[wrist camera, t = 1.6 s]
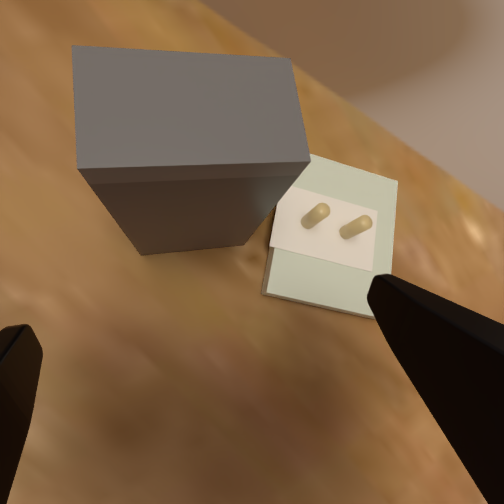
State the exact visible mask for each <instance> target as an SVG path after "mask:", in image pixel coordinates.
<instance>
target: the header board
mask: <svg viewBox="0 0 504 504" xmlns="http://www.w3.org/2000/svg"><path fill="white" fill-rule="evenodd" d="M310 158H311V162H310V163H309V165H308V166H307V167H306V168H305V170H304V171H303V172H302V173H301V175H300V176H299V177H298V178H297V179H296V181H295V182H294V183H293V184H292V186H291V187H290V188H289V189H288V191H287V192H286V193H285V194H284V196H283V197H282V198H281V199H280V200H279V202H278V203H277V207H276V212H275V217H274V223H273V228H272V233H271V239H270V244H269V246H270V248H269V254H268V259H267V264H266V270H265V275H264V280H263V286H262V291H261V294H263V295H267V296H272V297H276V298H281V299H285V300H290V301H294V302H299V303H303V304H308V305H312V306H317V307H321V308H326V309H330V310H335V311H339V312H344V313H348V314H353V315H357V316H362V317H366V318H371V319H375V317H374V315H373V313H372V311H371V309H370V307H369V305H368V302H367V293H368V291H369V288H370V285H371V282H372V279H373V277H374V276H375V275H379V274H391V266H392V253H393V240H394V226H395V213H396V199H397V186H398V181H395V180H392V179H389V178H386V177H383V176H380V175H376V174H373V173H370V172H367V171H364V170H360V169H357V168H354V167H351V166H348V165H345V164H341V163H338V162H335V161H332V160H329V159H326V158H322V157H319V156H316V155H313V154H310Z"/></svg>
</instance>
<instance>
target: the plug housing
mask: <svg viewBox="0 0 504 504" xmlns="http://www.w3.org/2000/svg"><path fill="white" fill-rule="evenodd" d="M72 64H73V86H74V109H75V131H76V154H77V169H78V170H79V172H80V173H81V174H82V176H83V177H84V179H85V180H86V181H87V183H88V184H89V185H90V187H91V188H92V189H93V191H94V192H95V194H96V195H97V196H98V198H99V199H100V200H101V202H102V203H103V204H104V206H105V207H106V209H107V210H108V211H109V213H110V214H111V215H112V217H113V218H114V219H115V221H116V222H117V224H118V225H119V226H120V228H121V229H122V230H123V232H124V233H125V234H126V236H127V237H128V238H129V240H130V241H131V243H132V244H133V245H134V247H135V248H136V249H137V251H138V252H139V253H140V255H150V254H160V253H170V252H180V251H190V250H200V249H210V248H220V247H230V246H240V245H244V244H245V243H246V241H247V240H248V239H249V238H250V236H251V235H252V234H253V233H254V231H255V230H256V229H257V228H258V226H259V225H260V224H261V223H262V222H263V220H264V219H265V218H266V217H267V215H268V214H269V213H270V212H271V210H272V209H273V208H274V207H275V205H276V204H277V203H278V202H279V200H280V199H281V198H282V197H283V196H284V194H285V193H286V192H287V191H288V189H289V188H290V187H291V186H292V184H293V183H294V182H295V181H296V179H297V178H298V177H299V176H300V175H301V173H302V172H303V171H304V170H305V168H306V167H307V166H308V165H309V163H310V162H311V158H310V153H309V148H308V143H307V138H306V133H305V128H304V123H303V118H302V113H301V108H300V103H299V98H298V93H297V88H296V83H295V79H294V74H293V69H292V64H291V59H290V58H277V57H260V56H243V55H227V54H210V53H193V52H176V51H159V50H143V49H126V48H109V47H92V46H75V45H72Z"/></svg>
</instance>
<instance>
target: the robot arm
mask: <svg viewBox="0 0 504 504" xmlns="http://www.w3.org/2000/svg"><path fill="white" fill-rule="evenodd" d="M367 302H368V305H369V307H370V309H371V311H372V313H373V315H374V317H375V319H376V321H377V323H378V325H379V327H380V329H381V331H382V333H383V335H384V337H385V339H386V341H387V343H388V344H389V346H390V348H391V350H392V351H393V353H394V355H395V356H396V358H397V360H398V361H399V363H400V364H401V366H402V368H403V369H404V371H405V372H406V374H407V376H408V377H409V379H410V380H411V382H412V383H413V385H414V387H415V388H416V390H417V391H418V393H419V395H420V396H421V398H422V399H423V401H424V403H425V404H426V406H427V407H428V409H429V411H430V412H431V414H432V415H433V417H434V419H435V420H436V422H437V423H438V425H439V426H440V428H441V430H442V431H443V433H444V434H445V436H446V438H447V439H448V441H449V442H450V444H451V446H452V447H453V449H454V450H455V452H456V454H457V455H458V457H459V458H460V460H461V462H462V463H463V465H464V466H465V468H466V469H467V471H468V473H469V474H470V476H471V477H472V479H473V481H474V482H475V484H476V485H477V487H478V489H479V490H480V492H481V493H482V495H483V497H484V498H485V500H486V501H487V503H488V504H504V325H503V324H501V323H499V322H497V321H494V320H492V319H490V318H488V317H485V316H483V315H481V314H479V313H476V312H474V311H472V310H470V309H467V308H465V307H463V306H461V305H458V304H456V303H454V302H452V301H449V300H447V299H445V298H443V297H440V296H438V295H436V294H434V293H431V292H429V291H427V290H425V289H422V288H420V287H418V286H416V285H414V284H411V283H409V282H407V281H405V280H402V279H400V278H398V277H396V276H393V275H391V274H379V275H375V276H374V277H373V279H372V282H371V285H370V288H369V291H368V293H367ZM42 358H43V351H42V347H41V345H40V343H39V341H38V339H37V337H36V335H35V333H34V331H33V330H32V328H31V326H29V325H28V324H21V325H14V326H8V327H5V328H4V329H2V330H1V331H0V504H7V500H8V497H9V494H10V490H11V487H12V484H13V480H14V477H15V474H16V471H17V467H18V464H19V461H20V457H21V454H22V451H23V447H24V444H25V441H26V437H27V434H28V430H29V427H30V423H31V418H32V413H33V408H34V402H35V397H36V391H37V386H38V380H39V375H40V369H41V363H42Z"/></svg>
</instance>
